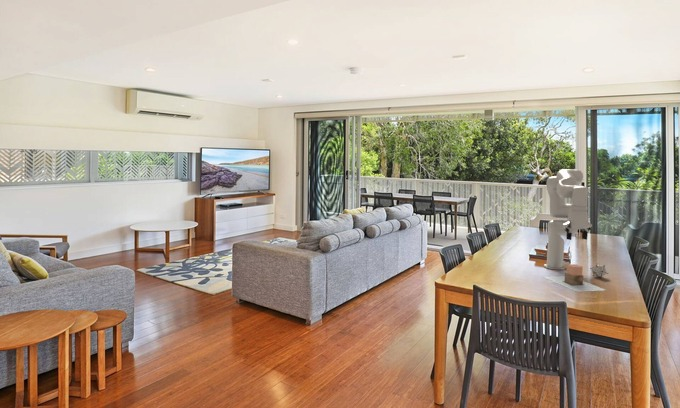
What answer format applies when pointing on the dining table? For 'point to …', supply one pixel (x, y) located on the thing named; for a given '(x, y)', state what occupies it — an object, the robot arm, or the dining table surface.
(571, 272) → the terracotta block
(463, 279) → the dining table surface
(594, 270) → the grey spiky ball
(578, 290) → the blueprint board
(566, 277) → the walnut block
